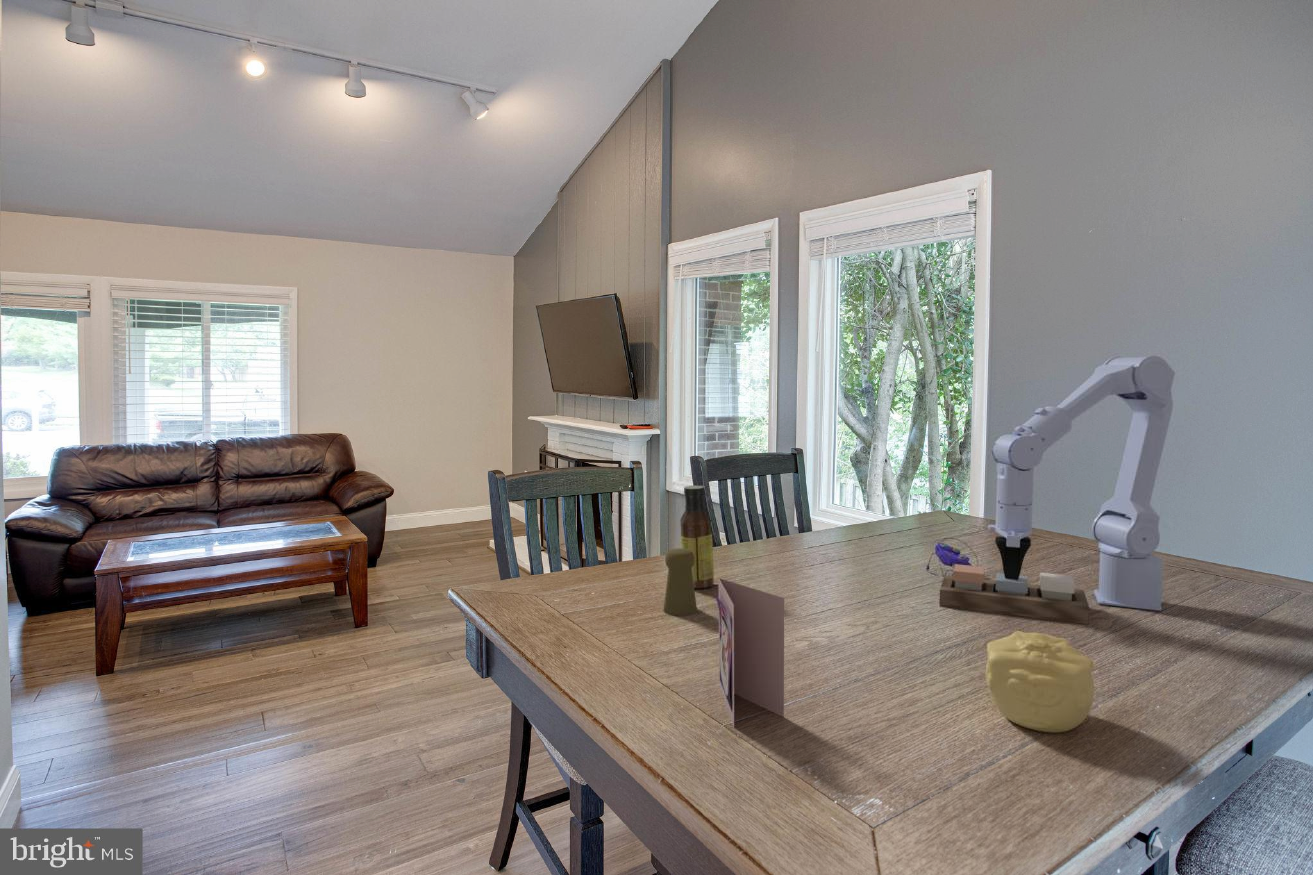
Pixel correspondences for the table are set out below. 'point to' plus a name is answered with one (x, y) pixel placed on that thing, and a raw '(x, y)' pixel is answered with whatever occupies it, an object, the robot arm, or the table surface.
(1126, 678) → the table surface
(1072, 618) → the brown long flat frame
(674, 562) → the cork
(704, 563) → the sauce bottle
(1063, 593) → the ivory key
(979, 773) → the table surface
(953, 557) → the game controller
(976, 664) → the table surface
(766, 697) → the greeting card
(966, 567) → the terracotta key
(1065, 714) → the sculpture
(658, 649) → the table surface
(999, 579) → the slate key
